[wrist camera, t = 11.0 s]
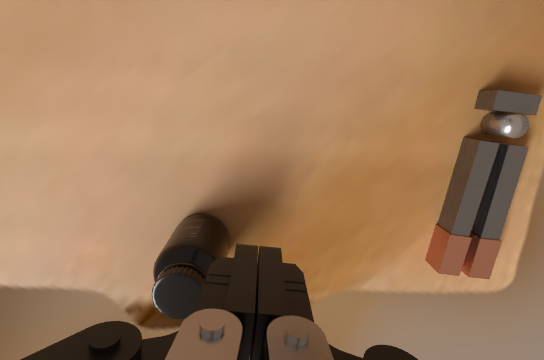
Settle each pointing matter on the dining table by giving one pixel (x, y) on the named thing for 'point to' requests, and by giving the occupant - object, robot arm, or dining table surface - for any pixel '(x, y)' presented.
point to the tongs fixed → (498, 175)
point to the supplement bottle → (187, 264)
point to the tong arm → (461, 206)
